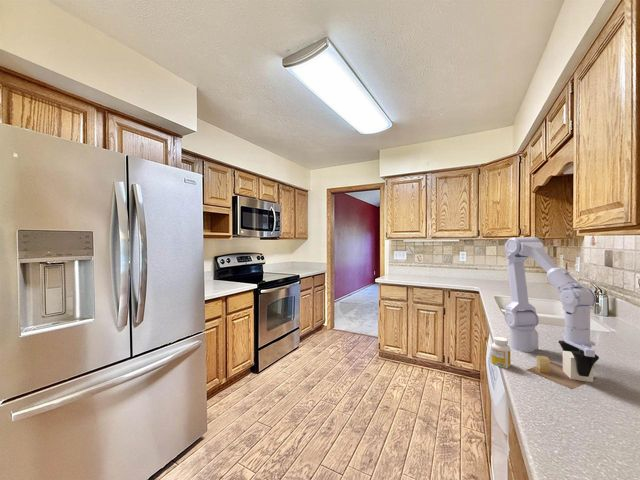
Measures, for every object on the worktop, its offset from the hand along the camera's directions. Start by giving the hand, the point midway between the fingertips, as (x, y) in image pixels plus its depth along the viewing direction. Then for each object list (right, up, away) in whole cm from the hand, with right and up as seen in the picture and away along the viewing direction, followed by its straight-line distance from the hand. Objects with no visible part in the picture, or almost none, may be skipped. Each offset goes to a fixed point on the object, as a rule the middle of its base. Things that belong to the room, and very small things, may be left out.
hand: (577, 370), depth 83 cm
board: (-4, -3, +2) cm, 5 cm away
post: (-8, -2, +3) cm, 9 cm away
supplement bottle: (-18, -3, +9) cm, 20 cm away
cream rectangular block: (0, -2, 0) cm, 2 cm away
